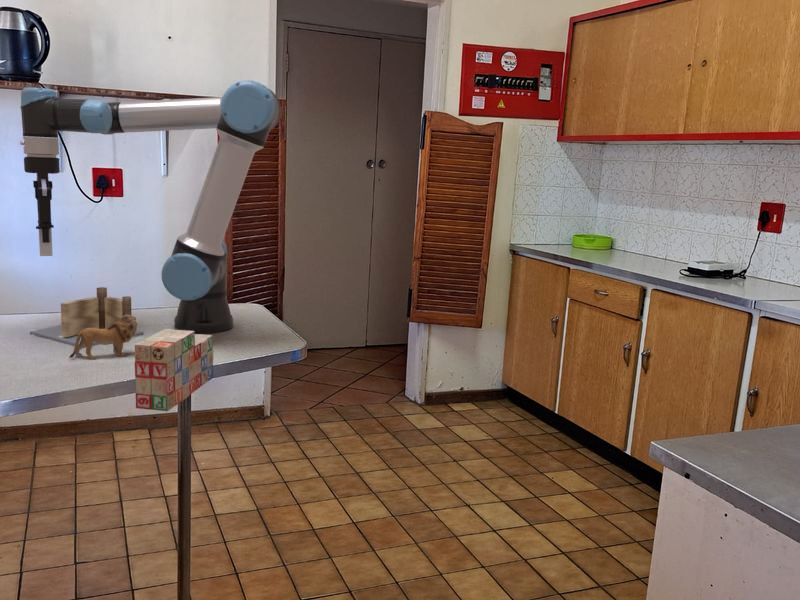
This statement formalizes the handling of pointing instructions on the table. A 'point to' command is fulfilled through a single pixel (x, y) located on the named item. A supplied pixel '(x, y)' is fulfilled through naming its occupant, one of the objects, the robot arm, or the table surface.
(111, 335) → the lion figurine
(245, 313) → the table surface
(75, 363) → the table surface
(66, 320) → the hinged fence panel
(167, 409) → the stack of blocks
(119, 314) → the fence post and fixed section
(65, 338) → the card
